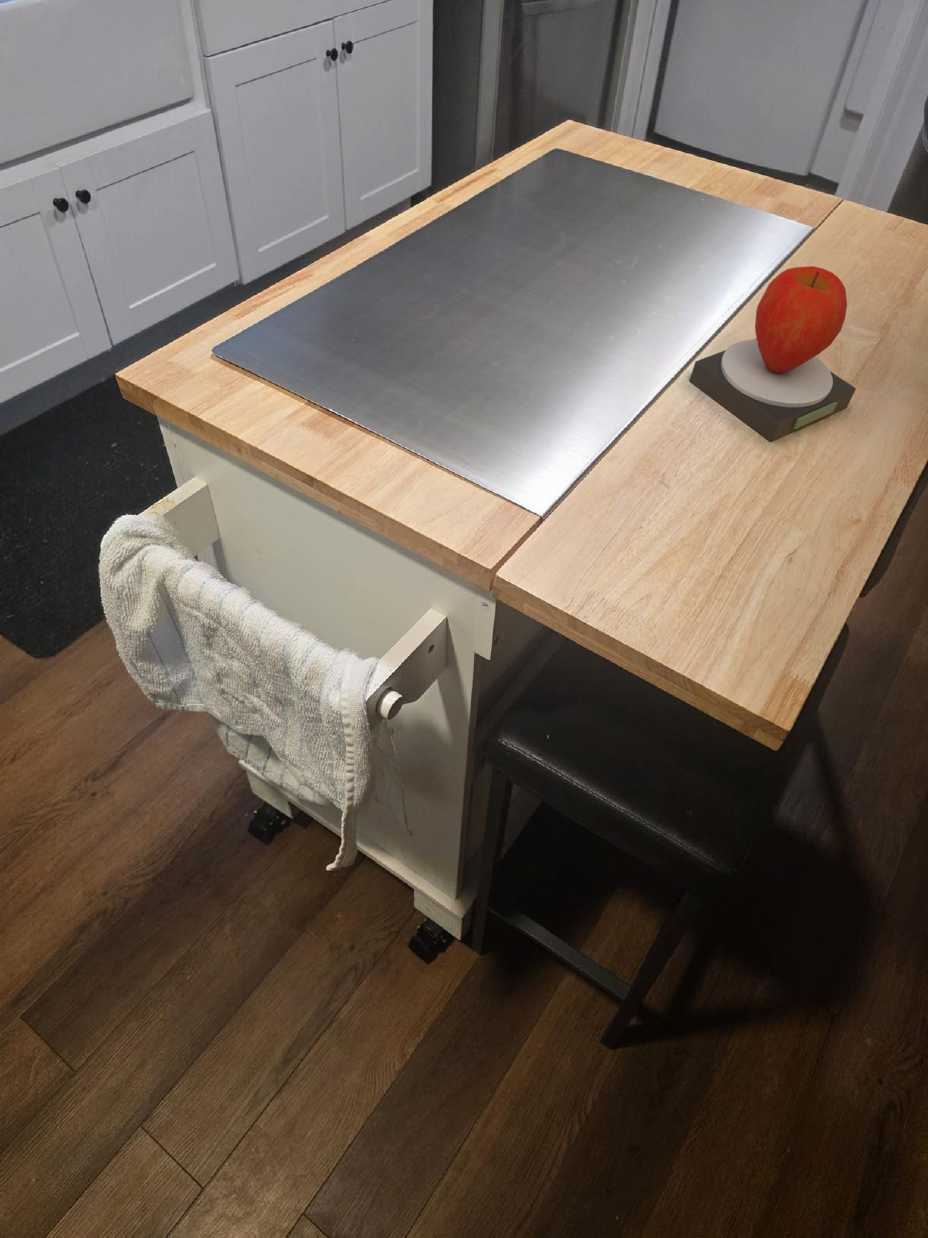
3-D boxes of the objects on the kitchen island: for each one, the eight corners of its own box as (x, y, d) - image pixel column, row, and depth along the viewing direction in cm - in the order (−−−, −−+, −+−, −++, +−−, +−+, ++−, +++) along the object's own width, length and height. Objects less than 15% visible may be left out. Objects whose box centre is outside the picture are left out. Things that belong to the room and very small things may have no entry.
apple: (796, 404, 88) (839, 305, 80) (722, 369, 91) (756, 270, 83) (831, 369, 92) (875, 272, 84) (760, 337, 96) (795, 241, 87)
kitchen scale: (848, 409, 93) (860, 384, 91) (772, 443, 88) (782, 418, 86) (764, 351, 100) (773, 327, 97) (688, 381, 95) (696, 356, 92)
